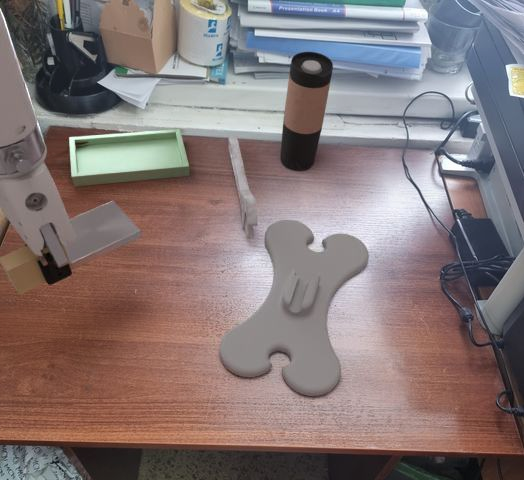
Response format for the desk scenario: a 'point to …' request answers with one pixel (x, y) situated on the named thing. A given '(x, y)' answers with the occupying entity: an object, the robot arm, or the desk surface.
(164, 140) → the tray
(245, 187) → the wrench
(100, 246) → the cleaver
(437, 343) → the desk surface
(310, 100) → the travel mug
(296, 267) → the holder
